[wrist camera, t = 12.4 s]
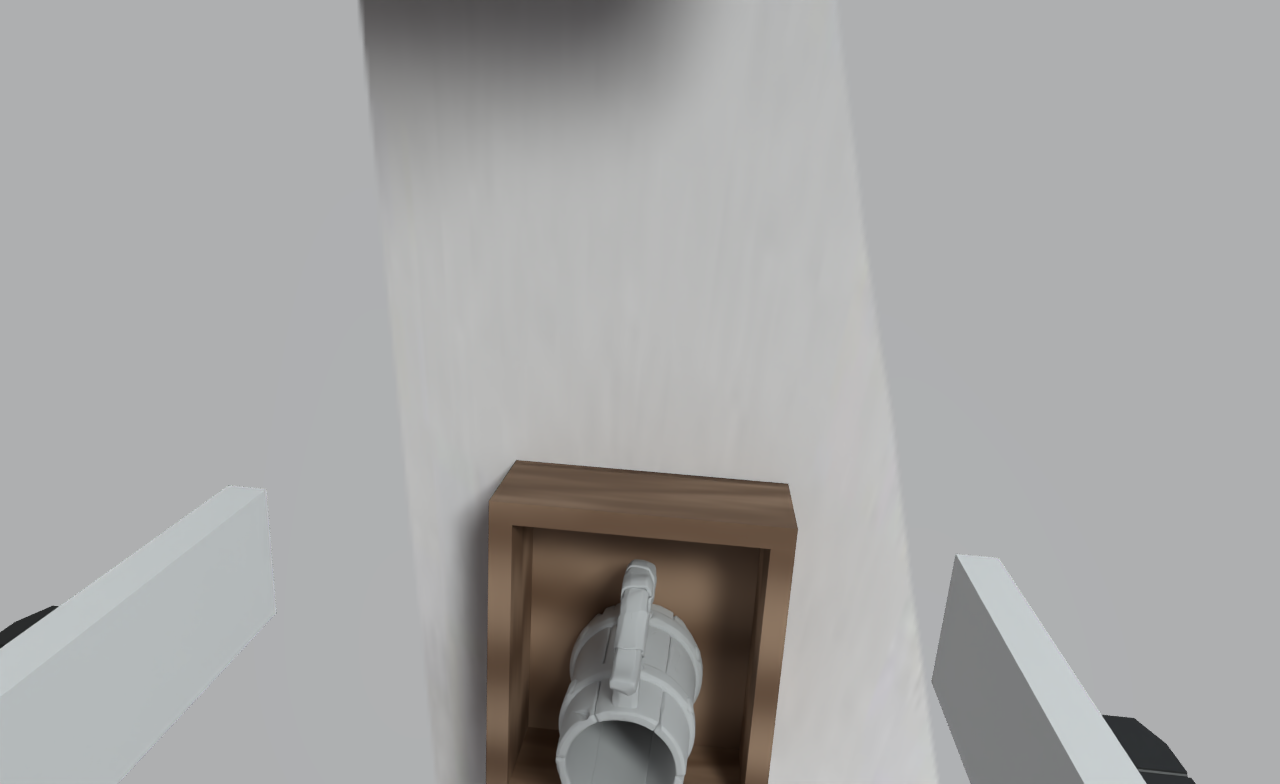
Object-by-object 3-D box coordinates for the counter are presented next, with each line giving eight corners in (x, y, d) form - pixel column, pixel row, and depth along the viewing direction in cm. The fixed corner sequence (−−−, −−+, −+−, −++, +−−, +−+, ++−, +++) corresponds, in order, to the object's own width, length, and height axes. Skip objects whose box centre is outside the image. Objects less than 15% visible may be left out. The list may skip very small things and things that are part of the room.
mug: (572, 702, 51) (529, 860, 40) (580, 524, 48) (536, 639, 36) (697, 716, 51) (691, 879, 39) (714, 536, 47) (712, 657, 36)
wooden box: (516, 460, 48) (488, 501, 42) (788, 483, 47) (797, 528, 41) (511, 734, 53) (485, 804, 47) (756, 761, 52) (761, 837, 46)
